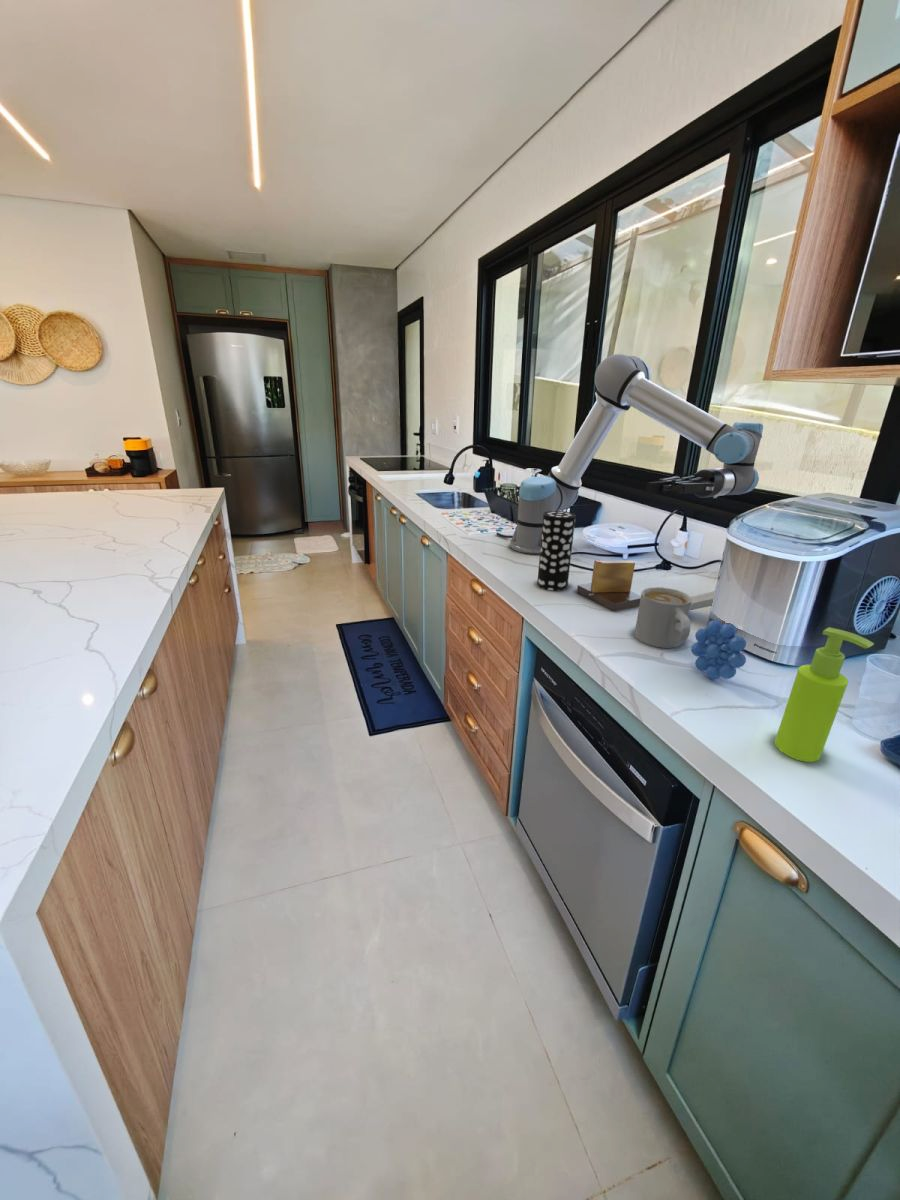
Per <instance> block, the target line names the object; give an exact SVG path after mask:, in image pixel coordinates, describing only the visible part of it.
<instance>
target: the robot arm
mask: <svg viewBox="0 0 900 1200" xmlns="http://www.w3.org/2000/svg"><path fill="white" fill-rule="evenodd" d="M651 378H652V375H651V370H650V367H649V365H648V363H647V362H646V361H645V360H643V359H641V358H640V357H638V356H635V355H626V354H622V353H616V354H612V355H609V356H607V357H605V358H604V359H603V360H602V361H600V363H599V364H598V365H597V368H596V370H595V373H594V385H595V388H596V391H595V394H594V395H595V398H596V401H595V402H594V404H593V405H592V408H591V409H590V410H589V412H588V415H587V416H586V417H585V420H584V421H583V423H582V424H581V426H580V428H579V430H578V432H577V433H576V435H575V437H574V438H573V440H572V442H571V444H570V445H569V447H568V448H567V451H566V452H565V454H564V456H563V457H562V459H561V461H560V462H559V464H558V465H555V466H552V467H551V469H550V471H549V473H548V474H547V476H541V475H540V476H539V475H538V476H531V477H527V478H525V479H523V480H522V481H521V482H520V485H519V491H518V507H517V524H516V527H515V530H514V532H513V534H512V535H511V534H510V535H507V534H502V533H500V532H496V535H495V536H499V537H500V538H505V539H511V540H510V545H509V546H510V548H511V550H513V551H515V552H519V553H523V554H530V555H540V548H541V537H542V526H543V514H544V512H547V511H565V510H568V509H569V508H570V507H572V506H574V504H575V503H576V501H577V499H578V497H579V492H580V491H579V490H580V488H581V486H582V485H583V483H582V479H581V478H582V476H583V475H584V474H585V471H586V470H587V468H588V467H589V465H590V463H592V460H593V459H594V457H595V456H596V454H597V453H598V451H599V449H600V448H601V446H602V444H603V443H604V441H605V440H606V438H607V436H608V435H609V434H610V432H611V430H612V429H613V427H614V425H615V423H616V422H617V420H618V419H619V417H620V415H621V414H623V413H626V412H629V410H630V408H631V407H632V408H633V409H635V410H637V411H639V412H641V413H643V414H644V415H646V416H647V417H648V418H649V417H650V418H651V419H652V420H654V421H656V422H657V423H660V424H661V425H663V426H665V427H666V428H668V429H670V430H672V431H673V432H675V433H677V434H679V435H680V436H682V437H684V438H686V439H687V440H688V441H691V442H693V443H694V444H695V445H697V446H699V447H701V448H703V449H704V450H706V451H707V452H708V453H710V454H711V455H714V457H715V458H716V460H718V461H719V462H720V463H723V466H722V467H718V468H717V467H715V468H704V469H703V468H702V469H699V470H698V471H696V472H695V473H694V474H693V475H688V476H683V477H681V478H680V476H678V475H674V476H672V477H665V478H659V481H658V480H657V481H647V482H646V487H645V494H648V495H653V494H666V493H670V494H672V493H676V494H677V495H680V494H681V495H682V494H694V495H695V496H696V497H698V498H701V499H702V498H703V499H704V498H713V499H717V498H718V497H720V496H734V495H736V496H738V495H743V494H747V493H750V492H751V491H753V490H755V488H756V487H757V486H758V484H759V481H760V476H759V473H758V470H756V468H755V462H756V459H757V454H758V451H759V447H760V443H761V440H762V438H763V431H764V425H763V423H762V422H755V421H736V422H734V423H733V424H732V426H731V425H730V424H728V423H726V422H724V421H722V420H721V419H719V418H717V417H715V416H714V415H712V414H710V413H708V412H706V411H704V410H703V409H701V408H699V407H697V406H696V405H694V404H693V403H691V402H688V401H686V400H685V399H683V398H681V397H680V396H678V395H676V394H674V393H673V392H670V391H669V390H667V389H665V388H663V387H662V386H660V385H659V384H656V383H654V381H653V382H652V381H651Z"/></svg>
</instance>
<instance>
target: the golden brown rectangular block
mask: <svg viewBox="0 0 900 1200" xmlns="http://www.w3.org/2000/svg"><path fill="white" fill-rule="evenodd" d="M635 567H636V562H635V561H633V560H600V559H595V560H594V561H593V568H592V575H591V582H592V583H591V582H590V583H591V591H592V592H630V591H631V592H632V584H633V579H634V573H635Z"/></svg>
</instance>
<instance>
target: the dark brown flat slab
mask: <svg viewBox="0 0 900 1200" xmlns="http://www.w3.org/2000/svg"><path fill="white" fill-rule="evenodd" d="M591 583H592V581H591V582H588V583H582V584H578V585H577V588H576V593H578V594H580V595H582V596H584V597H586V598H588V599H589V600H591V601H594V602H596V603H597V604H599V605H601V606H603V607H605V608H606V609H609V610H611V611H612V612H615V611H616V612H617V611H620V610H626V609H630V608H634V607H639V605H640V599H641V594H638V593H636V592H633V591H632V590H631V591H630V592H592V591H591Z"/></svg>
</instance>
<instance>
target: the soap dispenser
mask: <svg viewBox="0 0 900 1200" xmlns="http://www.w3.org/2000/svg"><path fill="white" fill-rule="evenodd" d="M822 635H824V636H827V639H826V641H825V645H824V646H823V647H817V648H816V649H815V651H814V653H813V657H812V661H811V664H803V665H800V666H799V667H798V669H797V671H796V675H795V678H794V681H793V684H792V687H791V690H790V693H789V697H788V700H787V703H786V706H785V709H784V712H783V715H782V717H781V721H780V725H779V727H778V731H777V733H776V736H775V740H774V745H775V747H776V748H777V749H778V750H779V751H780V752H781V753H782V754H784V755H786V756H787V757H789V758H791V759H794V760H797V761H800V762H806V763H814V762H818V761H819V760H820V759H821V757H822V754H823V751H824V749H825V746H826V742H827V741H828V738H829V736H830V732H831V729H832V728H833V725H834V721H835V720H836V716H837V714H838V711H839V708H840V706H841V703H842V700H843V698H844V695H845V692H846V690H847V687H848V684H849V680H848V678H847V677H846V676H845V675H844V674H842V673H841V670H842V668H843V665H844V662H845V659H846V655H845V654H844V653H843V652H842V651H840V650H841V648H842V644H843V641H846V642H848V643H852V644H854V645H857V646H858V647H860V648H862V649H864V650H865V649H869V648H871V647H872V646H874V645H875V643H874V642H872V641H871V640H869V639H868V638H865V637H863V636H861V635H859V634H856V633H853V632H850V631H846V630H843V629H839V628H834V627H830V626H829V627H827V628H825V629H823V631H822Z"/></svg>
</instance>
